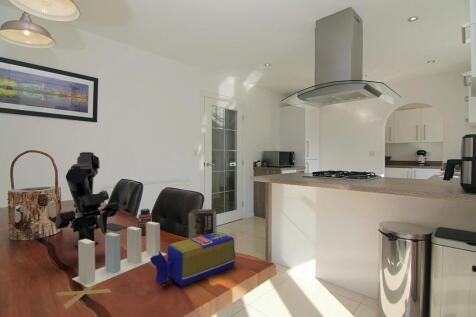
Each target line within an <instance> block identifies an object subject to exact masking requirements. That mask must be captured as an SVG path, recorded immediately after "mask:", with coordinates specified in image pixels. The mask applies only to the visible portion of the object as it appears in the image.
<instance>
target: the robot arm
mask: <svg viewBox="0 0 476 317" xmlns="http://www.w3.org/2000/svg"><path fill="white" fill-rule="evenodd" d="M100 165H101V164H100V158H99V157H98V156H96V155H95V153H94V152H92V151H83V152H79V156H78V157H77V159H76V163H74V164H72V165H71V166H70V168H69V169H68V171H67V173H66V174H65V179H66V183H67V185H68V189H69V192H70V194H71V197H72V200H73V202H74V204H73V207H74V209H75V211H74V210H69V211H63V212H60V213H59V214H58V216H57V218H56V220H55V221H54V225H55V229H57V230H60V229H64V228H68V227H69V225H70V224H71V225H70V228H71V229H72V230H73V233H76V232H77V242H76V243H74V244H73V245H74V246H75V247H78V241H79V240H83V239H88V240H91V241H94V242H95V245H98V244H99V241H96V240H95V231H96V230H99V229H100V231H101V233H102V235H103V236H104V237H105V234H106V233H108V230H107V224H108V219H109V218H112V217H115V216H116V215H117V213H118V212H119V211H121V210H120V209H122V208H121V206H120V204H119V203H118V202H111V203H106V202H105V201H108V200H109V199H110V196H109V193H108V191H107V190H101V191H99V192H98V193H94V178H95V177H96V176H97V175H98V173H99V169H100ZM102 203H106V205H105V206H104V208H101V206H102V205H101V204H102ZM99 208H100V209H99Z"/></svg>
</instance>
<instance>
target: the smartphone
mask: <svg viewBox="0 0 476 317" xmlns="http://www.w3.org/2000/svg"><path fill="white" fill-rule="evenodd" d="M128 227H129V226H126V225H123V224H122V225H121V224H117V223H113V222H109V223H107V229H108V230H107V231H111V232H118V231H122V229H123V230H125V229H126V230H127V228H128Z"/></svg>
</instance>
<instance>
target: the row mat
mask: <svg viewBox="0 0 476 317" xmlns="http://www.w3.org/2000/svg"><path fill="white" fill-rule="evenodd" d="M160 252H161V251H160ZM161 254H162V255H163V256H164V257H165V256H168V253H166V252H161ZM152 256H153V255H150V254H147V253H146V250H145V251H142V262H140V263H138V264H135V263H132V262H130V261H127V257H126V258H124V259H120V262H121V271H119V272H116V273H113V272H110V271H108V270H106V269H105V266H102V267H100V268H95V281H94V282H91V283H89V284H87V283H85V282H83V281H81V280H80V279H79V275H78V276H76V277H75V276H74V277H73V278H71V280H73V281H74V282H76V283H78V284H80V285H82V286H84V287H85V288H90V287H92V286H95V285H97V284H100V283H102V282H104V281H107V280H109V279H111V278H114V277H116V276H118V275H122V274H123V273H126V272H129V271H130V270H133V269H136V268H138V267H140V266H143V265H145V264H148V263H149V262H150V263H151V260H150V258H151V257H152Z"/></svg>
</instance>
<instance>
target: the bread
mask: <svg viewBox="0 0 476 317" xmlns="http://www.w3.org/2000/svg"><path fill="white" fill-rule="evenodd" d="M235 250H236V249H235V239H234V237H233V236H231V235H227V234H225V233H223V232H219V231H217V232H216V233H211V234H207V235H203V236H199V237H195V238H191V239H189V238H188V239H184V240H183V239H182V240H180V241H176V242H174V243H173V242H172V243H170V244H169V245H167V260H166V258H165V255H164V256H163V255H162V254H161V250H160V251H159V255H156V256H152V257H151V258H150V260H151V261H150V263H151V264H152V265H154V266H155V268H156V278H155V279H156V280H155V282H156V283H157V284H160V285H162V284H164V283H165V282H168V277H169V278H171V279H172V280H173V281H174V282H175V283H176V284H178V285H179V286H180V287H184V286H186V285H189V284H192V283H194V282H197V281H200V280H202V279H205V278H208V277H210V276H213V275H215V274H218V273H220V272H221V273H222V272H223V271H227V270H228V269H231V268H233V267H234V266H235V263H236V251H235ZM157 287H160V286H157Z"/></svg>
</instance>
